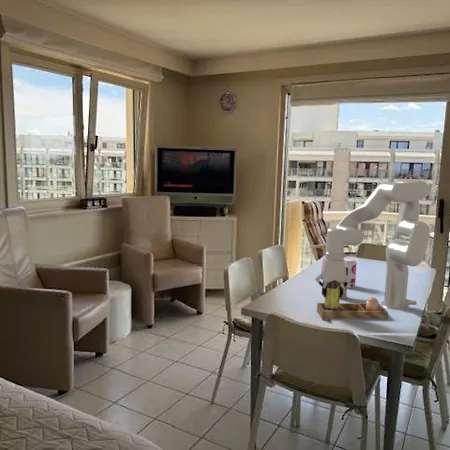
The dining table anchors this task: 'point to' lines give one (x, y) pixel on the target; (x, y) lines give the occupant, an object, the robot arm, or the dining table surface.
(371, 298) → the brown egg
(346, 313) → the caddy
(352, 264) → the supplement can
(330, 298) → the sauce bottle
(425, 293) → the dining table surface
